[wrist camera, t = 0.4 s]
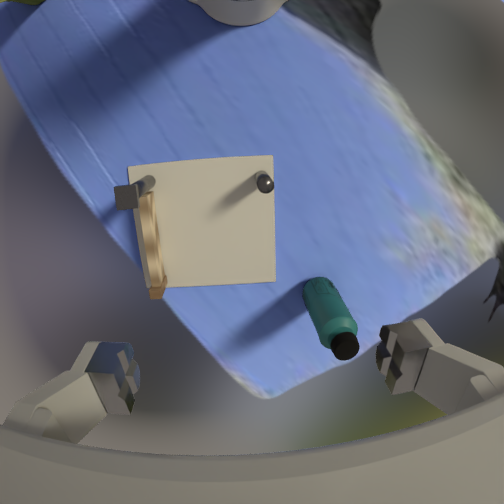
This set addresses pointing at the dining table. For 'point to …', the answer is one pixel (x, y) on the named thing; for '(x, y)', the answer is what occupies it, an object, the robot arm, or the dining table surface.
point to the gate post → (133, 193)
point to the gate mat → (211, 221)
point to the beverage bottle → (331, 318)
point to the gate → (152, 245)
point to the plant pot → (25, 1)
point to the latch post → (264, 182)
